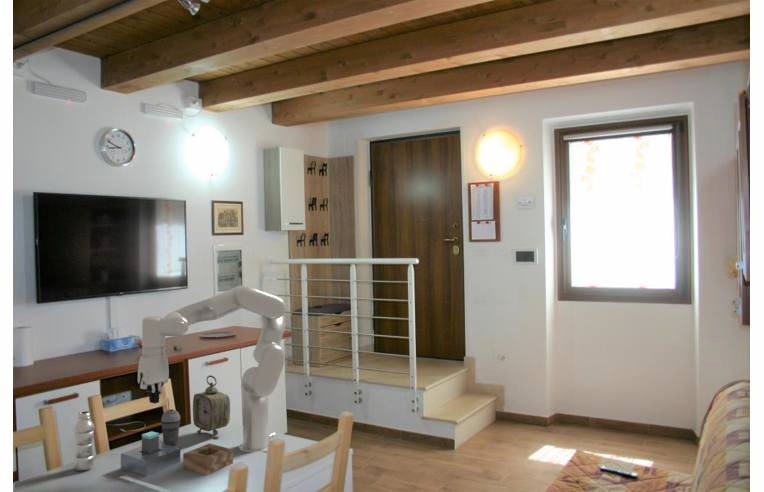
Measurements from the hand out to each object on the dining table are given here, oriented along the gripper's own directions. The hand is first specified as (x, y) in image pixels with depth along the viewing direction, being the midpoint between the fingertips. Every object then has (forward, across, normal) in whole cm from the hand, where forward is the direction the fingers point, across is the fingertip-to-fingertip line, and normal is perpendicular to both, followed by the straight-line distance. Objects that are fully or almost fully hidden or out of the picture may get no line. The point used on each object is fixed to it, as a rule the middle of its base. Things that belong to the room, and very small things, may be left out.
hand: (154, 402), depth 200 cm
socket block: (+23, +1, -1) cm, 23 cm away
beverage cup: (+24, -14, -9) cm, 29 cm away
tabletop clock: (+24, -34, -8) cm, 42 cm away
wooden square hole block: (+24, -9, +17) cm, 30 cm away
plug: (+22, +1, -1) cm, 22 cm away
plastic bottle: (+23, +14, -20) cm, 34 cm away
